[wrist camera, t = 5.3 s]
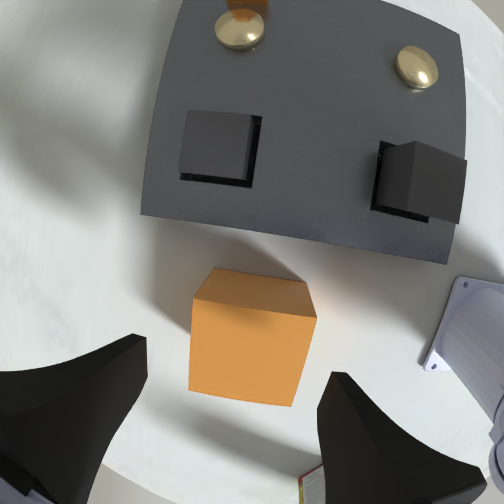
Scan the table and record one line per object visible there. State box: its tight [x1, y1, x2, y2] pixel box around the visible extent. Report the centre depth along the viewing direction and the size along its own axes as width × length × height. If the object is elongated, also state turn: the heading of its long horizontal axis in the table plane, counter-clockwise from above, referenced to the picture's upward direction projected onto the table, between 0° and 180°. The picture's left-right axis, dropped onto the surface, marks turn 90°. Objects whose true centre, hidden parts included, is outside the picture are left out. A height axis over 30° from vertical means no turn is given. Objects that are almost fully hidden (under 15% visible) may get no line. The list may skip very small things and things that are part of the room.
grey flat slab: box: [140, 0, 466, 265], centre depth 13 cm, size 18×16×4 cm
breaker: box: [375, 141, 467, 224], centre depth 12 cm, size 3×3×4 cm
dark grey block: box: [178, 110, 256, 181], centre depth 14 cm, size 3×3×4 cm
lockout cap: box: [188, 268, 317, 407], centre depth 16 cm, size 6×6×5 cm
